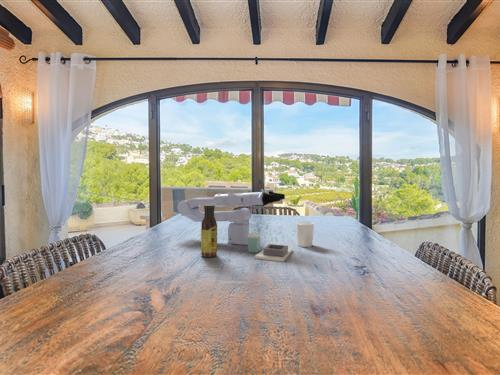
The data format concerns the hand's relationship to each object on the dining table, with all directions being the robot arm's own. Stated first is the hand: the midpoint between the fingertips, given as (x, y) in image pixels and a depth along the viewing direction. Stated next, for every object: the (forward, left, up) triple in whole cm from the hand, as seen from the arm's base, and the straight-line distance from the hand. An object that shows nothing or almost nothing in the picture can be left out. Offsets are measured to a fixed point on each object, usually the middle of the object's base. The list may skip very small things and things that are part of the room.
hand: (282, 197), depth 133 cm
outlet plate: (+1, -13, -22) cm, 25 cm away
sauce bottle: (-23, -24, -22) cm, 40 cm away
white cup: (+9, +6, -22) cm, 24 cm away
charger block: (-9, -11, -22) cm, 26 cm away
